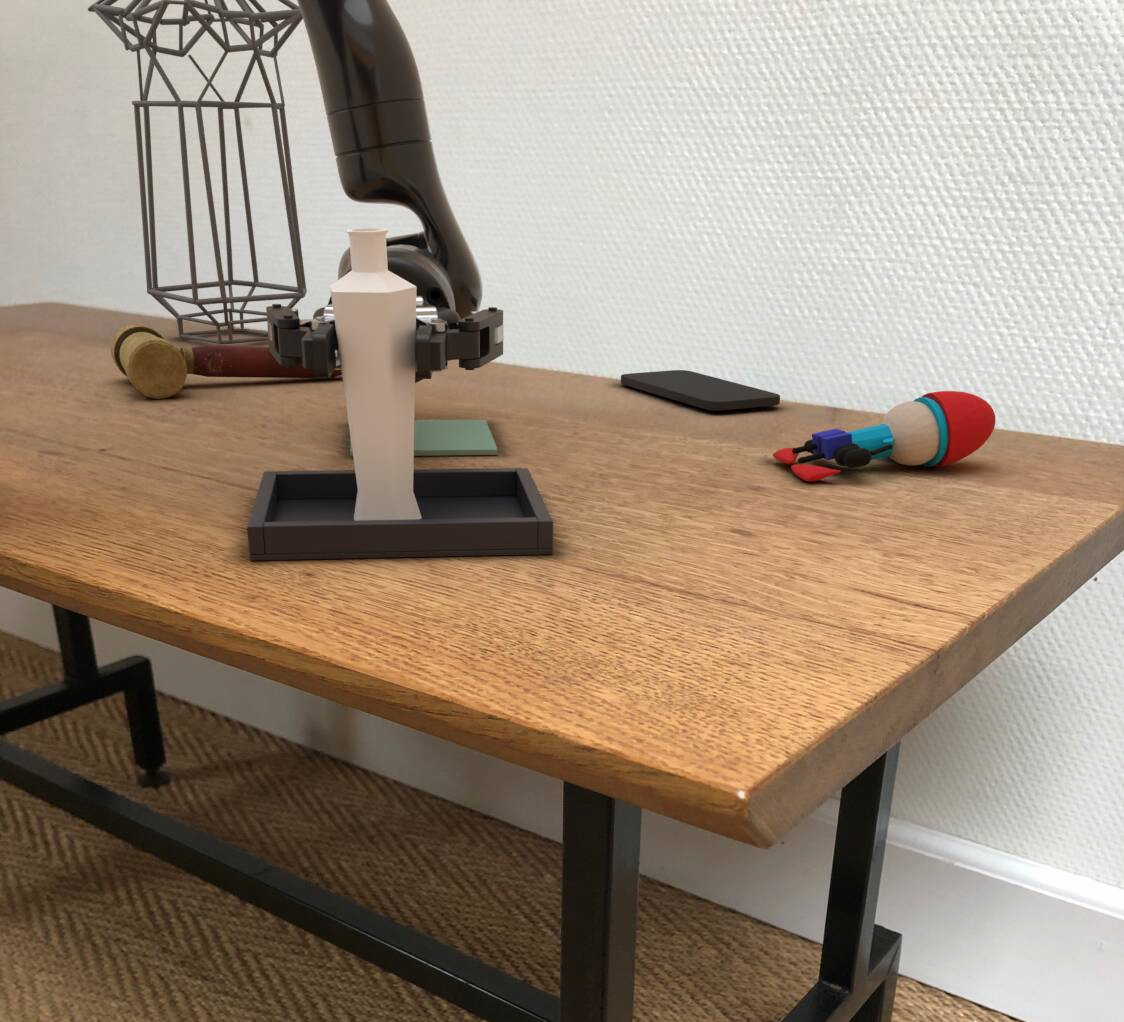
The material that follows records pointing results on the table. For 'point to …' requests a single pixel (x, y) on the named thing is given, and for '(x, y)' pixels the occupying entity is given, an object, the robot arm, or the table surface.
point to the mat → (452, 438)
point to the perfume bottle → (378, 376)
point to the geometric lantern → (234, 18)
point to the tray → (444, 530)
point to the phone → (700, 390)
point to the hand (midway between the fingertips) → (372, 357)
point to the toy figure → (903, 436)
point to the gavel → (190, 362)
